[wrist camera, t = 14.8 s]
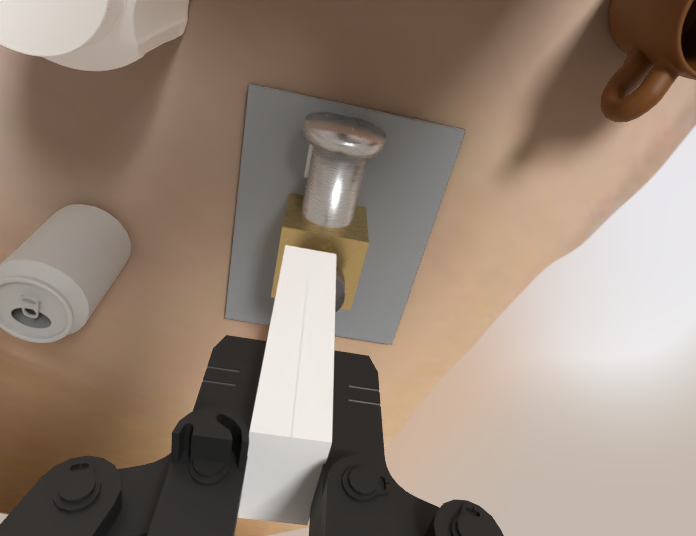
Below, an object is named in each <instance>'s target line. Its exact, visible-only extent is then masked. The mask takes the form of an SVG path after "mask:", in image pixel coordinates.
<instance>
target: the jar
mask: <svg viewBox="0 0 696 536" xmlns="http://www.w3.org/2000/svg"><path fill="white" fill-rule="evenodd" d="M188 5H189V0H0V45H2V46H4V47H6V48H9V49H11V50H13V51H17V52H19V53H22V54H26V55H31V56H39V57H43V58H45V59H47V60H50V61H52V62H54V63H57V64H59V65H62V66H66V67H69V68H73V69H78V70H85V71H106V70H112V69H117V68H120V67H123V66H126V65H129V64H131V63H133V62H135V61H137V60H138V59H140V58H142V57H143V56H144V55H145V53H147V52H149V51H151V50H152V49H154V48H156V47H158V46H160V45H161V44H163V43H166V42H169V41H171V40H173V39H175V38H177V37H179V36H181V35H182V34H183V33H184V31H185V28H186V25H187V21H188Z"/></svg>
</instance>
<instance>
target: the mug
mask: <svg viewBox="0 0 696 536" xmlns="http://www.w3.org/2000/svg"><path fill="white" fill-rule="evenodd" d="M609 26H610V31H611V34H612V37H613V39H614V40H615V42H616V43H617V45H618V46H619V47H620V48H621V49H622V50H623V51H624V52H626V53H627V54H629V55H628V57H627V59H626V60H625V62H624V64H623V66H622V67H621V68H620V69H619V70H618V71H617V72H616V73H615V75H614V76H613V77H612V78H611V80H610V81H609V82H608V84H607V86H606V87H605V89H604V91H603V94H602V96H601V110H602V112H603V114H604V115H605V117H606V118H608V119H610V120H612V121H614V122H628V121H630V120H633V119H636V118H638V117H640V116H641V115H643V114H644V113H646V112H648V111H649V110H650V109H651V108H652V107H654V106H655V105H656V104H657V103H658V102H659V101H660V100H661V99H662V97H663V96H664V95H665V93H666V92H667V91H668V89H669V88H670V86H671V85H672V84H673V82H674V81H675V79H676V78H677V77H678V76H682V77H685V78H690V79H694V80H696V0H612V1H611V5H610V10H609ZM652 65H654V66H653V68H652V69H651V67H652ZM650 69H651V71H650ZM649 71H650V72H649ZM648 72H649V73H648ZM647 74H648V75H647ZM646 75H647V76H646ZM645 76H646V78H645V79H644V77H645ZM643 79H644V80H643ZM642 80H643V82H642V83H641V85H640V86H639V87H638V88H637V89H636V90H635V91H634V92H633V93H631V94H630V92H631V91H632V90H633V89H634V88H635V87H636V86H637V85H638V84H639V83H640V82H641V81H642ZM629 94H630V95H629ZM628 95H629V96H628Z"/></svg>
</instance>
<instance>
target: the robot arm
mask: <svg viewBox="0 0 696 536" xmlns="http://www.w3.org/2000/svg"><path fill="white" fill-rule="evenodd" d="M335 296H336V254H333V253H327V252H322V251H316V250H311V249H305V248H299V247H294V246H288V245H285V250H284V255H283V260H282V266H281V271H280V276H279V281H278V286H277V291H276V297H275V302H274V307H273V312H272V317H271V322H270V328H269V333H268V338H267V341H261V340H254V339H248V338H241V337H235V336H228V335H226V336H225V337H224V338H223V339H222V340H221V341H220V342H219V343H218V344H217V345H216V346H215V347H214V348H213V350H212V354H211V357H210V360H209V363H208V367H207V369H206V372H205V375H204V378H203V383H202V385H201V388H200V391H199V394H198V397H197V400H196V403H195V406H194V409H193V412H191V413H189V414H188V415H187V416H185V417H184V418H183V419H181V420H180V421H179V422H178V424H177V425H176V427H175V429H174V430H173V432H172V450H171V453H170V454H169V455H168V456H166V457H164V458H162V459H160V460H158V461H156V462H153V463H149V464H146V465H141V466H135V467H130V468H124V469H118V470H117V469H116V467H115V465H113V464H112V463H110V462H108V461H107V460H105V459H103V458H98V457H92V456H84V457H78V458H72V459H69V460H67V461H65V462H63V463H61V464H58V465H56V466H55V467H53V468H52V469H51V470H50V471H49V472H47V473H46V474H45V475H44V476H43V477H42V478H41V479H40V480H39V481H38V482H37V483H36V484H35V485H34V487H33V488H32V489H31V490H30V491H29V492H28V493H27V495H26V496H25V497H24V498H23V499H22V500H21V501H20V503H19V504H18V505H17V506H16V507H15V508H14V509H13V511H12V512H11V513H10V514H9V515H8V516H7V517H6V519H5V520H4V521H3V522H2V523H1V524H0V536H234V533H235V528H236V522H237V517H239V518H248V519H257V520H266V521H275V522H284V523H293V524H302V525H307V524H308V521H309V518H310V525H309V536H503V534H502V531H501V530H500V528H499V526H498V525H497V523H496V522H495V520H494V519H493V517H492V516H491V515H489V514H488V513H487V512H486V511H485V510H484V509H483V508H481V507H480V506H478V505H476V504H474V503H471V502H469V501H466V500H452V501H449V502H446V503H444V504H443V505H442V506H441V507H440V508H439V507H437V506H435V505H432V504H430V503H428V502H425V501H423V500H421V499H419V498H417V497H415V496H413V495H411V494H409V493H408V492H406V491H405V490H404V489H403V488H401V487H400V486H399V485H398V484H397V483H396V482H395V480H394V479H393V478H392V476H391V475H390V473H389V471H388V469H387V466H386V462H385V456H384V443H383V430H382V418H381V407H380V393H379V380H378V371H377V370H376V368H375V366H374V364H373V363H372V361H371V359H370V357H369V356H366V355H360V354H353V353H347V352H340V351H334V339H335Z"/></svg>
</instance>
